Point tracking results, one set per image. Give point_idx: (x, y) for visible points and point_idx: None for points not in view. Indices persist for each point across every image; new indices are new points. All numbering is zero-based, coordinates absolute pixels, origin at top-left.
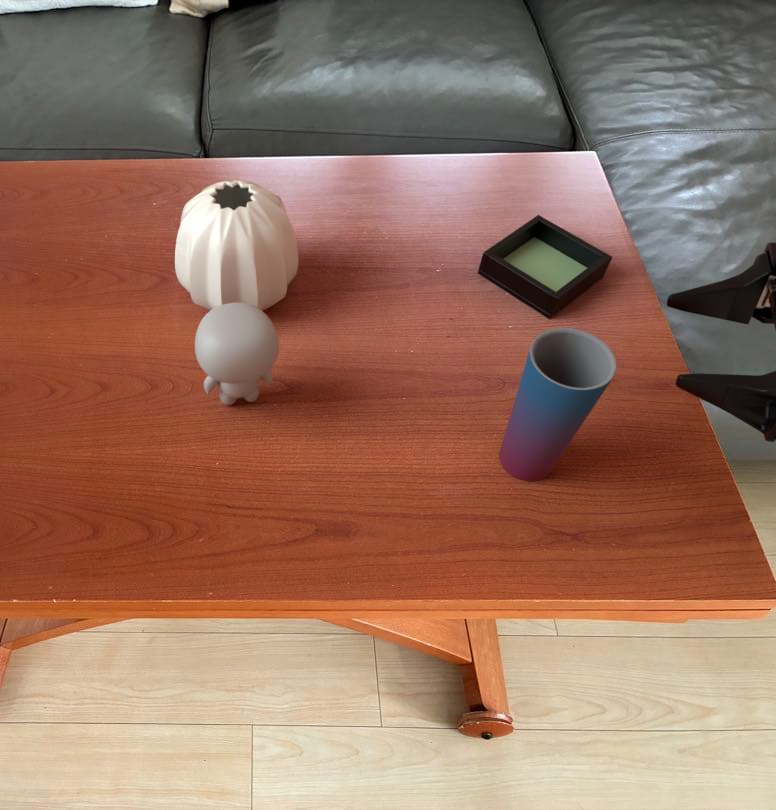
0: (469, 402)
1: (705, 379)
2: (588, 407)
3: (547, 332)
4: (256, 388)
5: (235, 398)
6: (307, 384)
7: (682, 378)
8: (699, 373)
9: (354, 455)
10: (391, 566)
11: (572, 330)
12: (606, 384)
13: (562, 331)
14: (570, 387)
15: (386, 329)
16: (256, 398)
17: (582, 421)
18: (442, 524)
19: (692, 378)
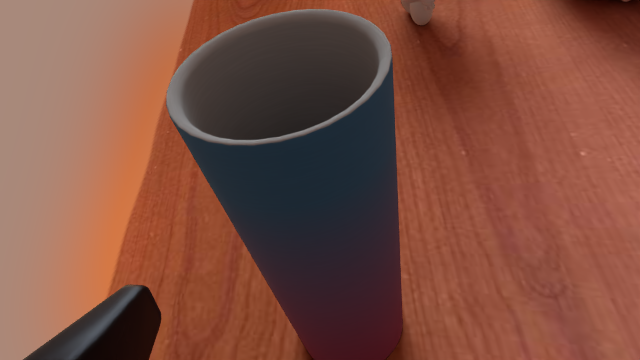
0: (479, 237)
1: (52, 340)
2: (210, 185)
3: (368, 26)
4: (416, 3)
5: (407, 3)
6: (461, 59)
7: (120, 290)
8: (100, 333)
9: None
10: (179, 164)
11: (383, 64)
12: (178, 128)
13: (380, 52)
14: (181, 68)
15: (624, 118)
16: (415, 20)
17: (244, 241)
18: None
19: (93, 309)
